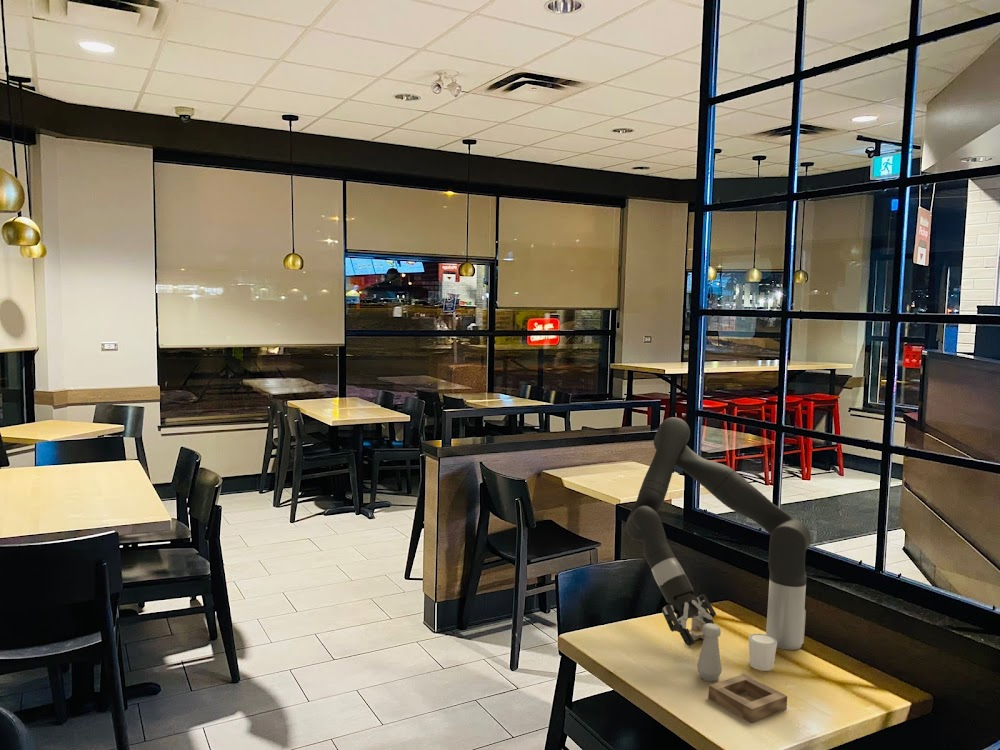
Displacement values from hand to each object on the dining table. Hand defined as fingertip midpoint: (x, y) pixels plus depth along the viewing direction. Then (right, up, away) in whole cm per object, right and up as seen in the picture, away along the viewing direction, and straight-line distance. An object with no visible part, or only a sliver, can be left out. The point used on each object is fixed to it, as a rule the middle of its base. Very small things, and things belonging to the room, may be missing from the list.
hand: (703, 640), depth 183 cm
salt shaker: (+1, -8, -2) cm, 9 cm away
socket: (+6, -9, -14) cm, 18 cm away
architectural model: (+5, -8, +20) cm, 22 cm away
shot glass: (+16, -9, +6) cm, 19 cm away
